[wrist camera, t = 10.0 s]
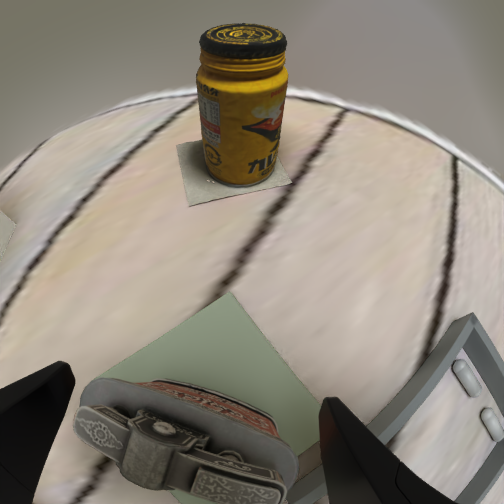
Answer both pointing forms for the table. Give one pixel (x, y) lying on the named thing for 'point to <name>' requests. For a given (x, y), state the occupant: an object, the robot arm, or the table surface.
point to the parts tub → (415, 393)
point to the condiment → (237, 114)
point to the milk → (5, 232)
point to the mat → (228, 371)
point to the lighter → (187, 440)
